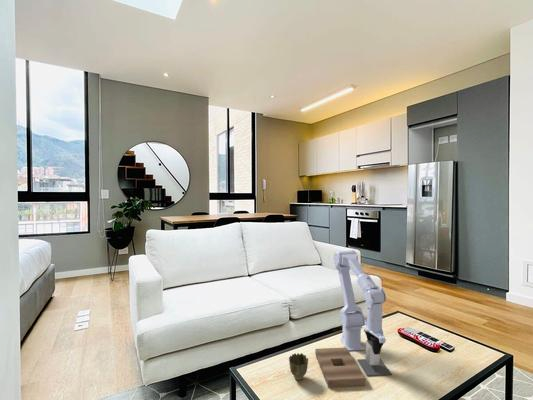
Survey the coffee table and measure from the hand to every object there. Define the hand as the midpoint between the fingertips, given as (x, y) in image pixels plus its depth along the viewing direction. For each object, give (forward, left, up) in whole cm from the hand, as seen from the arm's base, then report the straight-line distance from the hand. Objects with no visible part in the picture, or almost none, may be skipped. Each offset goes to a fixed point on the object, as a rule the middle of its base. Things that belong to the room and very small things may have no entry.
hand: (374, 350), depth 116 cm
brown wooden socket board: (0, -15, -7) cm, 17 cm away
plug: (0, -1, -5) cm, 5 cm away
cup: (+4, -32, -7) cm, 33 cm away
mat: (0, 0, -7) cm, 7 cm away
